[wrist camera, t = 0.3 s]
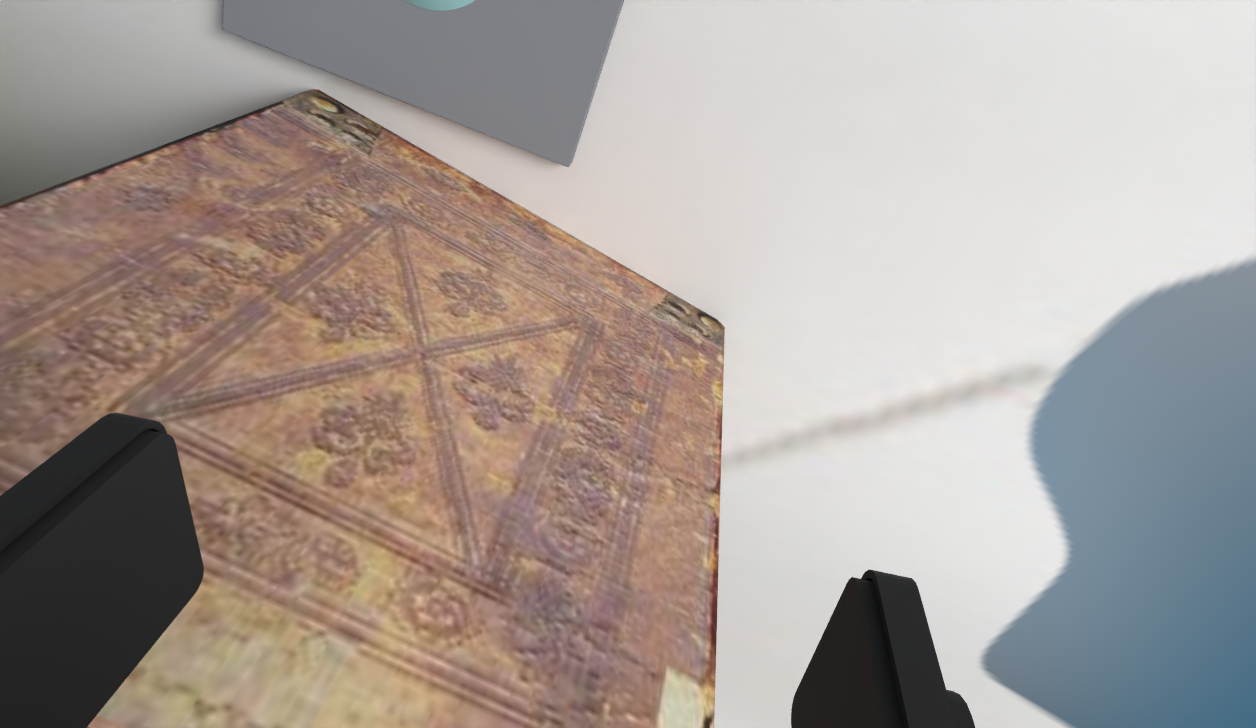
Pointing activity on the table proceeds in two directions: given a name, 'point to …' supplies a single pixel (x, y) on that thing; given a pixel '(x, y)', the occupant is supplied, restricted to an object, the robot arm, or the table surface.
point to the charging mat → (454, 57)
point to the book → (380, 433)
